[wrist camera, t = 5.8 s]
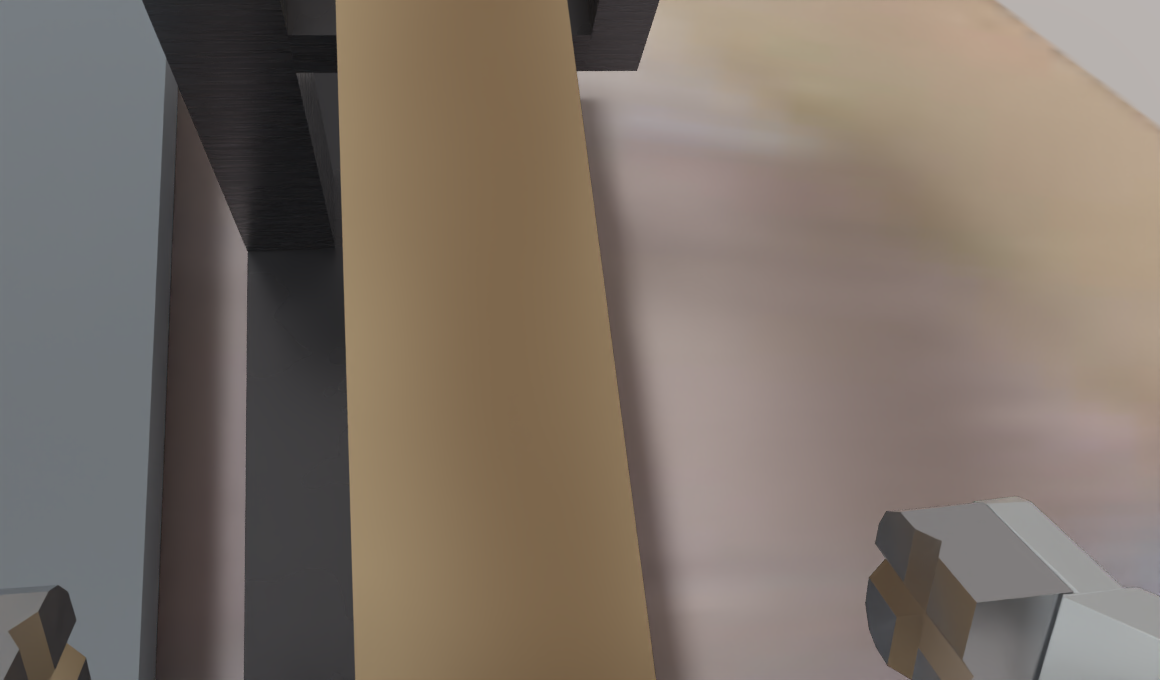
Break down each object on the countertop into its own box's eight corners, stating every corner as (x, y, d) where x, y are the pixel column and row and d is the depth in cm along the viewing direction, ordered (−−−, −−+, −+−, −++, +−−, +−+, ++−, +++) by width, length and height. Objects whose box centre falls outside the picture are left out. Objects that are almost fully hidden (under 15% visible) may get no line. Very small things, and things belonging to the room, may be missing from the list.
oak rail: (404, 1534, 9) (389, 1881, 7) (344, -151, 17) (326, -318, 14) (695, 1456, 10) (796, 1750, 7) (512, -145, 17) (527, -306, 15)
